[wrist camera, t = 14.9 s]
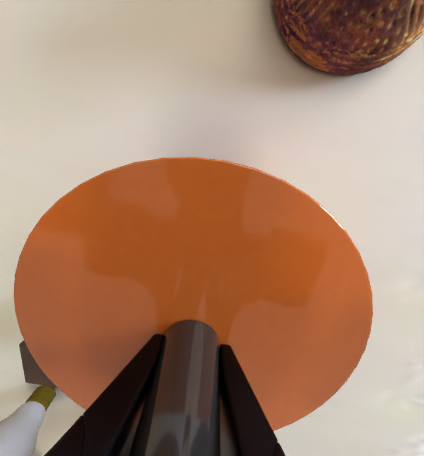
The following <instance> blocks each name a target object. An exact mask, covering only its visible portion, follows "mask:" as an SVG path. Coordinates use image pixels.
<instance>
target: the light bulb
mask: <svg viewBox="0 0 424 456" xmlns="http://www.w3.org/2000/svg"><path fill="white" fill-rule="evenodd" d="M55 395H56V392H55V390H54V387H52V386H46V385H43V386H39V387H38V388H37V389H36V390H35V391H34V392H33V393H32V395H31V396H30V397H29V399H28V400H27V401H26V402H25V403H24V404H23V405H21V406H20V407H19V408H18V409H17V410H16V411H15V412H14V413H13V414H11V415H10V416H9V417H7V418H6V419H4V420H3V421H1V422H0V456H32V454H33V452H34V449H35V445H36V440H37V434H38V430H39V427H40V424H41V422H42V420H43V418H44V415H45V411H46V410H47V408H48V406H49V405H50V403H51V402H52V400H53V399H54V397H55Z"/></svg>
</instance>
